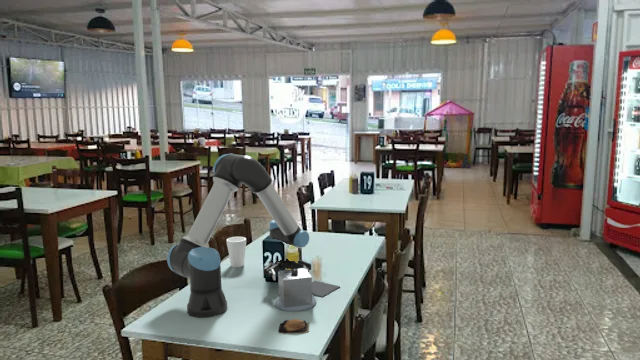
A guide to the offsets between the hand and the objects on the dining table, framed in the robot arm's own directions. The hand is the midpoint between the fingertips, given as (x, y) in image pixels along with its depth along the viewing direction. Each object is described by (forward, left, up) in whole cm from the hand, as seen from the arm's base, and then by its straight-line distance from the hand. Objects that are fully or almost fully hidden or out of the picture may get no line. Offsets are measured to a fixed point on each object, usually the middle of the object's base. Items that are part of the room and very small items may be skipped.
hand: (291, 275), depth 206 cm
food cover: (-5, -6, -8) cm, 11 cm away
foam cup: (+17, +47, -9) cm, 51 cm away
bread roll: (-23, -19, -9) cm, 31 cm away
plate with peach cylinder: (-5, -6, -9) cm, 12 cm away
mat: (+12, -5, -9) cm, 15 cm away
